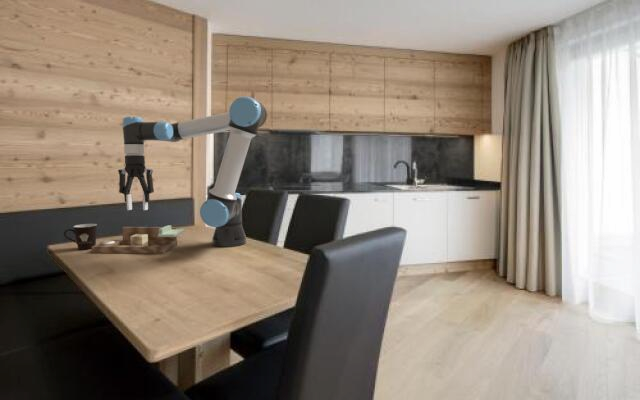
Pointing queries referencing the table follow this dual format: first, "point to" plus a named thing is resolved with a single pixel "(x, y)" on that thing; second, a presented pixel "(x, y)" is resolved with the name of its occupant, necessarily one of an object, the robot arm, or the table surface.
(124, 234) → the puzzle board
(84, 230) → the coffee mug
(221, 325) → the table surface
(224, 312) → the table surface
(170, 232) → the lid
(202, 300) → the table surface
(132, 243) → the maple block
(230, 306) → the table surface
